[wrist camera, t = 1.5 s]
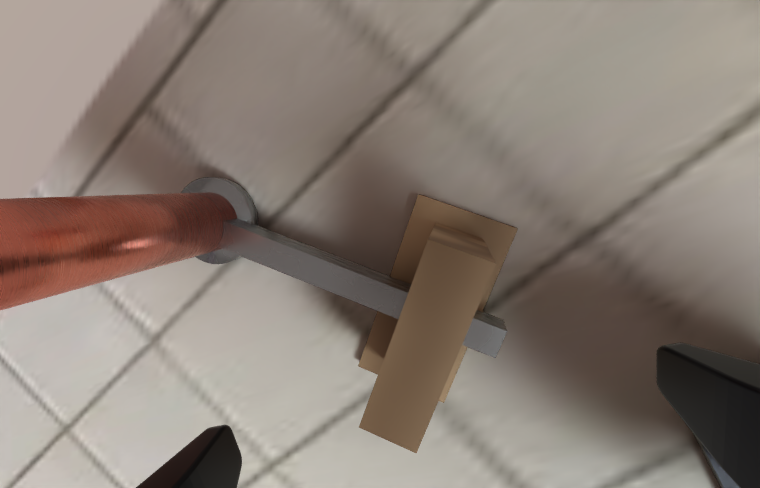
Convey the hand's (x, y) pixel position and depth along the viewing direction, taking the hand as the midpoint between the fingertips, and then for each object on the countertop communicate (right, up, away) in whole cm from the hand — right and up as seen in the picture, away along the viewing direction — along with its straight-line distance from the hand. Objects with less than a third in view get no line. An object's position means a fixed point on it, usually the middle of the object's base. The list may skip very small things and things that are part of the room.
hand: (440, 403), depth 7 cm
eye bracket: (+2, 0, +11) cm, 11 cm away
